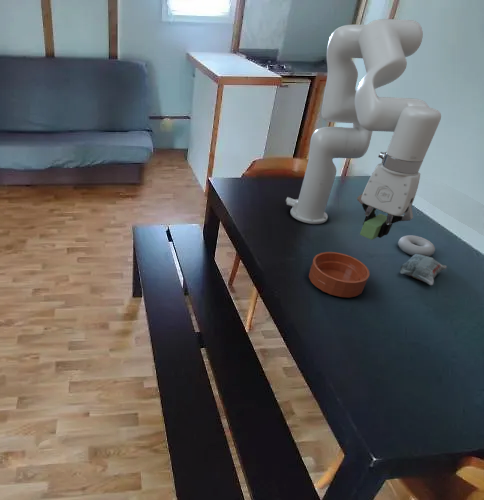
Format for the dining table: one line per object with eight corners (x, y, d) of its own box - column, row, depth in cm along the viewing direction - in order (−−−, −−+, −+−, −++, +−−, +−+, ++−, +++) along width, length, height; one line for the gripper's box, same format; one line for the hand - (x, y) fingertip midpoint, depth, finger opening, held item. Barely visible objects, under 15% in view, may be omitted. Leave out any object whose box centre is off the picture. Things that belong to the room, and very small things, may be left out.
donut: (402, 257, 125) (437, 261, 123) (406, 247, 123) (442, 251, 121) (392, 240, 133) (425, 244, 131) (396, 231, 131) (429, 235, 130)
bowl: (300, 284, 112) (305, 267, 109) (318, 261, 121) (323, 246, 118) (354, 306, 104) (361, 289, 101) (368, 281, 114) (375, 265, 111)
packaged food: (443, 274, 118) (450, 260, 115) (428, 290, 111) (436, 276, 108) (410, 261, 123) (417, 247, 120) (395, 276, 116) (401, 262, 114)
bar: (371, 240, 100) (377, 227, 98) (359, 234, 102) (364, 222, 100) (387, 230, 104) (393, 218, 102) (375, 225, 106) (380, 213, 104)
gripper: (358, 155, 96) (336, 223, 106) (432, 179, 85) (399, 252, 95) (374, 149, 100) (351, 215, 110) (447, 172, 89) (414, 242, 99)
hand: (374, 231), depth 103 cm, fingers closed on bar, 3 cm apart
